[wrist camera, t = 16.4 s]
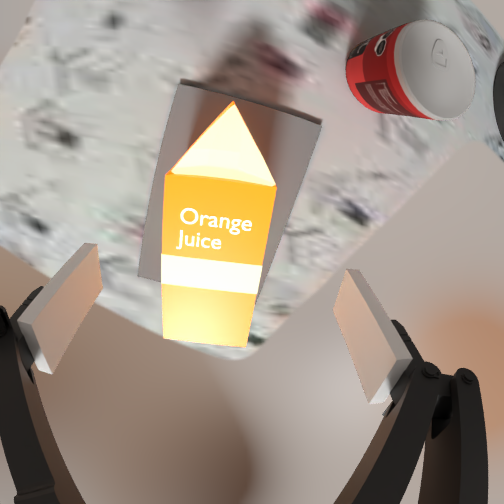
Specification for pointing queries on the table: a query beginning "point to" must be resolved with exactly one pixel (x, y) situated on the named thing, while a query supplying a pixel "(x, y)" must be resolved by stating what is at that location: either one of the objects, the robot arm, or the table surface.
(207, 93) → the mat
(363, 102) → the canned food
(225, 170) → the orange juice
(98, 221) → the table surface
